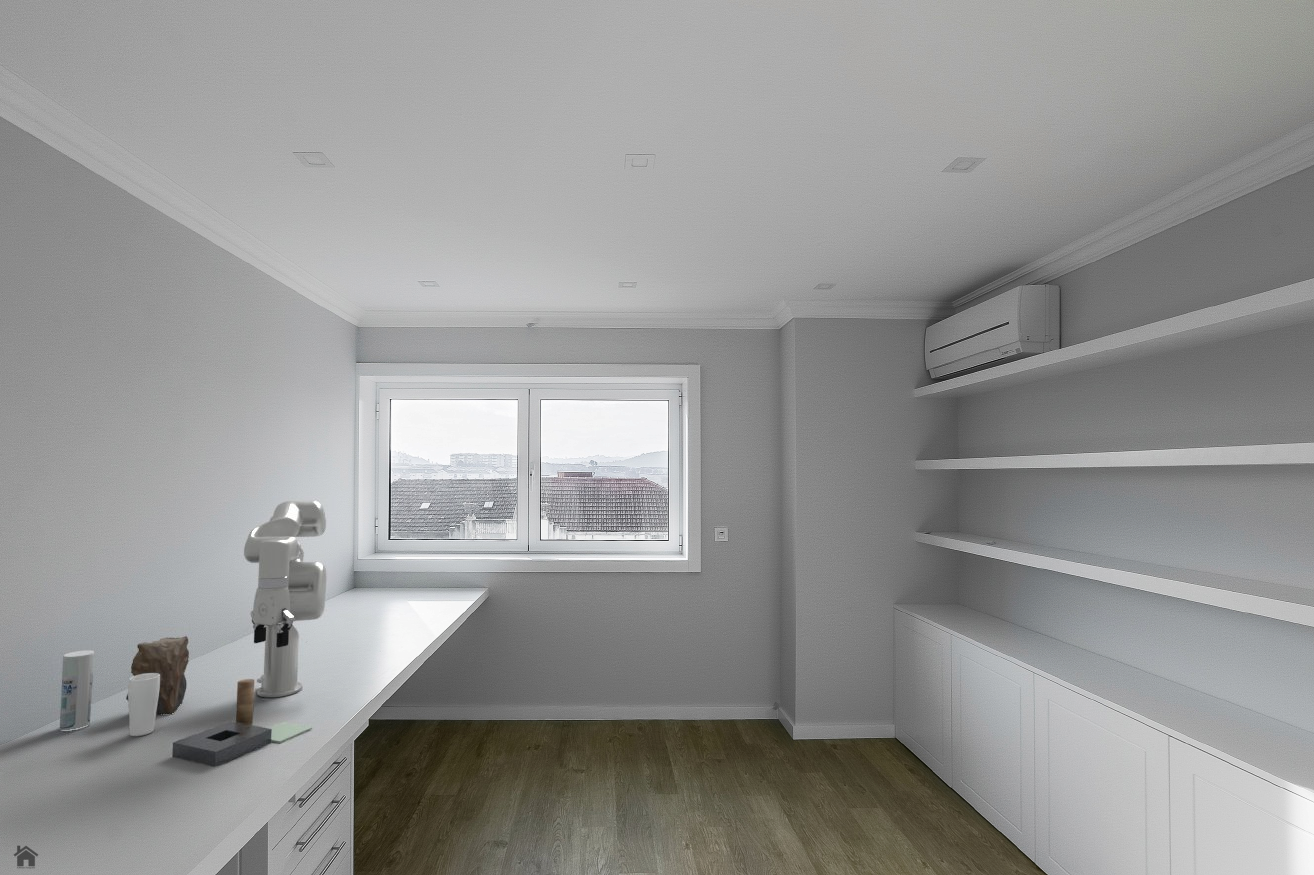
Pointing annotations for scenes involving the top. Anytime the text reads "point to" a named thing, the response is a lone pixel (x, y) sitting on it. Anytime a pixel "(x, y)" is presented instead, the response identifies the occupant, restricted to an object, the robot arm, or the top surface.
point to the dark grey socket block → (221, 743)
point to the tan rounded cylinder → (245, 701)
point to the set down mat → (286, 731)
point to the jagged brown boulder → (164, 669)
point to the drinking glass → (143, 703)
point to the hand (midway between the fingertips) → (270, 644)
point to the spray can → (76, 689)
